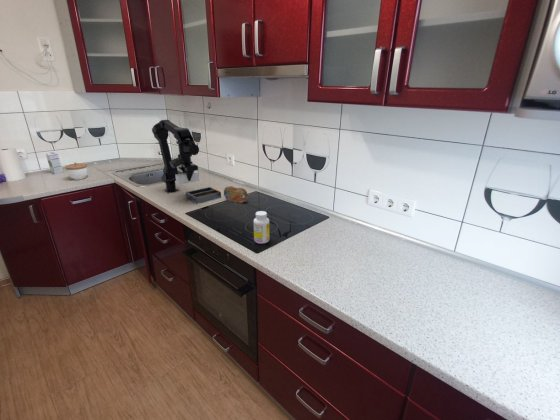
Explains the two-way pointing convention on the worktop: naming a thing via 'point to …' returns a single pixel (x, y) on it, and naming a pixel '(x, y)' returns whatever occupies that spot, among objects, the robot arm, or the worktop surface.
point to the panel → (183, 178)
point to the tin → (235, 194)
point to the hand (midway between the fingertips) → (187, 180)
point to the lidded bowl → (77, 170)
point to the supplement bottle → (261, 227)
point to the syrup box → (54, 163)
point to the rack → (203, 194)
